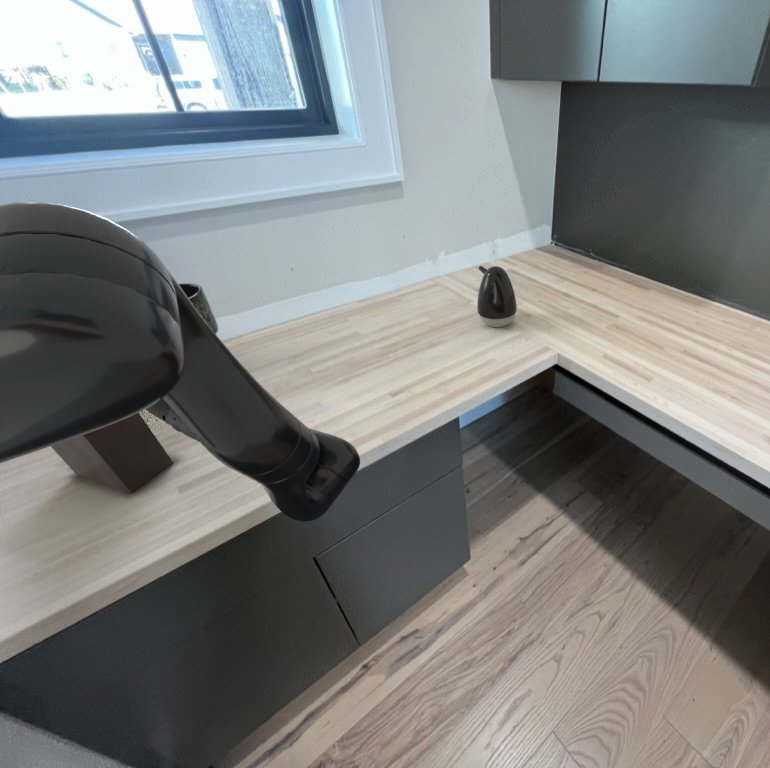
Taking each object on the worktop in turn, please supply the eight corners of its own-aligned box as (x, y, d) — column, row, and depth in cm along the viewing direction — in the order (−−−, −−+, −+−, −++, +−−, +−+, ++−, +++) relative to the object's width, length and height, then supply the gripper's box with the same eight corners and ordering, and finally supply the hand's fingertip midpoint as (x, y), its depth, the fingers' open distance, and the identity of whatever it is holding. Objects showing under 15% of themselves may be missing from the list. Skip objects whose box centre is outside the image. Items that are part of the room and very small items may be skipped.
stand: (68, 479, 68) (-89, 311, 51) (124, 442, 75) (3, 284, 58) (127, 499, 65) (-20, 326, 47) (181, 459, 72) (70, 295, 54)
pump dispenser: (495, 310, 117) (492, 256, 108) (524, 320, 111) (524, 264, 102) (469, 324, 110) (464, 268, 101) (500, 335, 105) (497, 277, 96)
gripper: (248, 351, 53) (136, 279, 52) (135, 421, 42) (-9, 331, 41) (245, 388, 58) (143, 322, 57) (143, 458, 47) (14, 379, 46)
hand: (79, 326), depth 49 cm, fingers open, 8 cm apart
